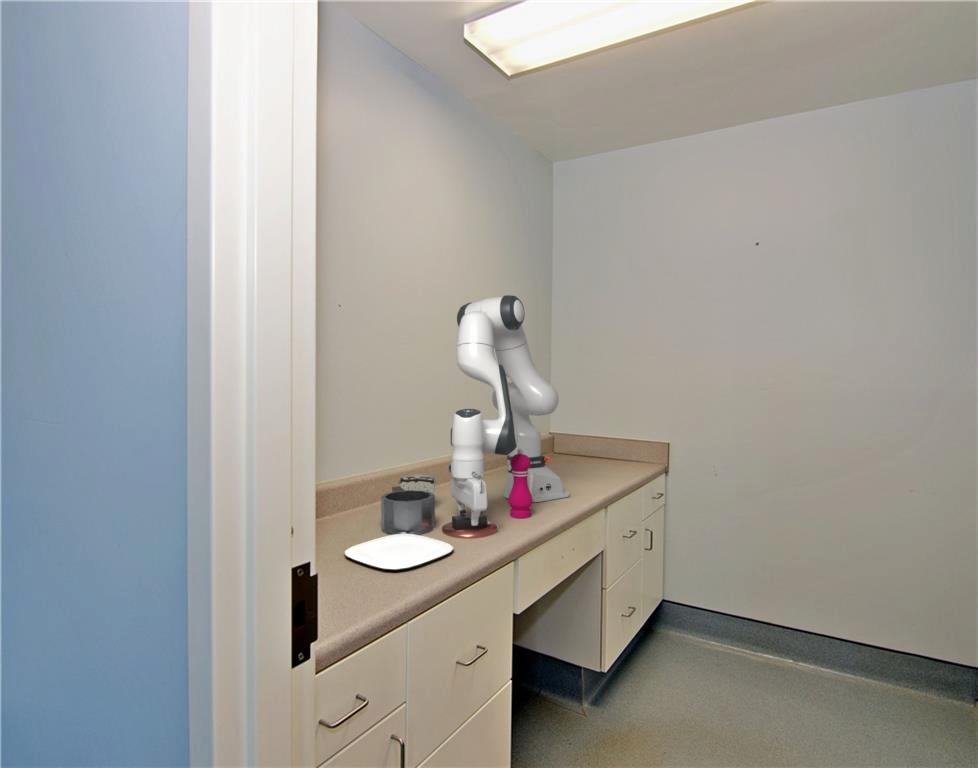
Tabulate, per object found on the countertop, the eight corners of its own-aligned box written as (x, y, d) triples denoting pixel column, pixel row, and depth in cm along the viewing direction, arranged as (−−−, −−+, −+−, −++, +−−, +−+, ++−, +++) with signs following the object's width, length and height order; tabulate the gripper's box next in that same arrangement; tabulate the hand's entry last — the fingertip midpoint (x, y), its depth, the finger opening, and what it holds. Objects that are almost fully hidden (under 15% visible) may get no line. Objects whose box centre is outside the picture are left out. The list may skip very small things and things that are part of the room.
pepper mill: (515, 511, 170) (515, 446, 170) (536, 514, 166) (536, 448, 166) (503, 516, 164) (503, 449, 163) (525, 520, 160) (525, 451, 160)
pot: (419, 512, 169) (418, 483, 169) (440, 532, 149) (440, 499, 148) (372, 517, 164) (372, 487, 164) (388, 538, 143) (387, 503, 143)
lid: (485, 521, 160) (485, 507, 160) (506, 535, 146) (505, 520, 146) (435, 527, 155) (435, 512, 155) (451, 542, 141) (451, 526, 141)
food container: (440, 505, 179) (440, 474, 178) (436, 510, 173) (436, 477, 172) (402, 504, 180) (402, 473, 180) (397, 509, 174) (397, 477, 174)
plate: (403, 536, 147) (403, 530, 147) (464, 553, 133) (464, 546, 133) (333, 558, 130) (333, 551, 130) (395, 580, 116) (394, 572, 116)
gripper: (493, 475, 142) (493, 529, 142) (466, 463, 161) (466, 510, 161) (470, 477, 139) (470, 531, 140) (445, 464, 158) (445, 512, 159)
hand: (468, 520), depth 151 cm, fingers open, 8 cm apart
